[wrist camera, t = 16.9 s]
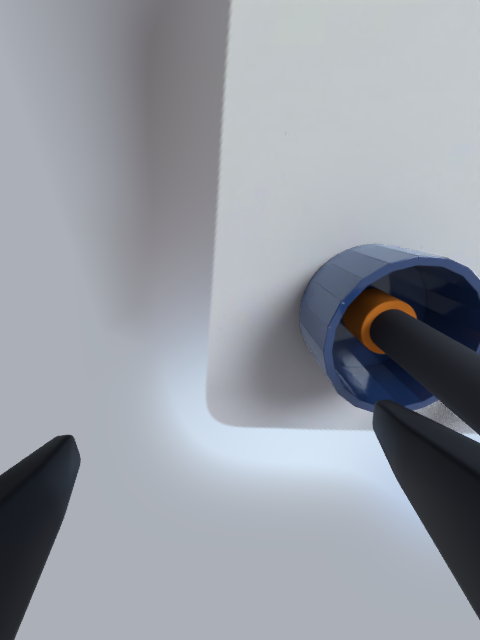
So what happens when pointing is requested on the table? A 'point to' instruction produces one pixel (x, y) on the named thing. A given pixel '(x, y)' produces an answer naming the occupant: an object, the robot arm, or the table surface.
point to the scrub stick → (418, 351)
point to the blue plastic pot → (402, 283)
